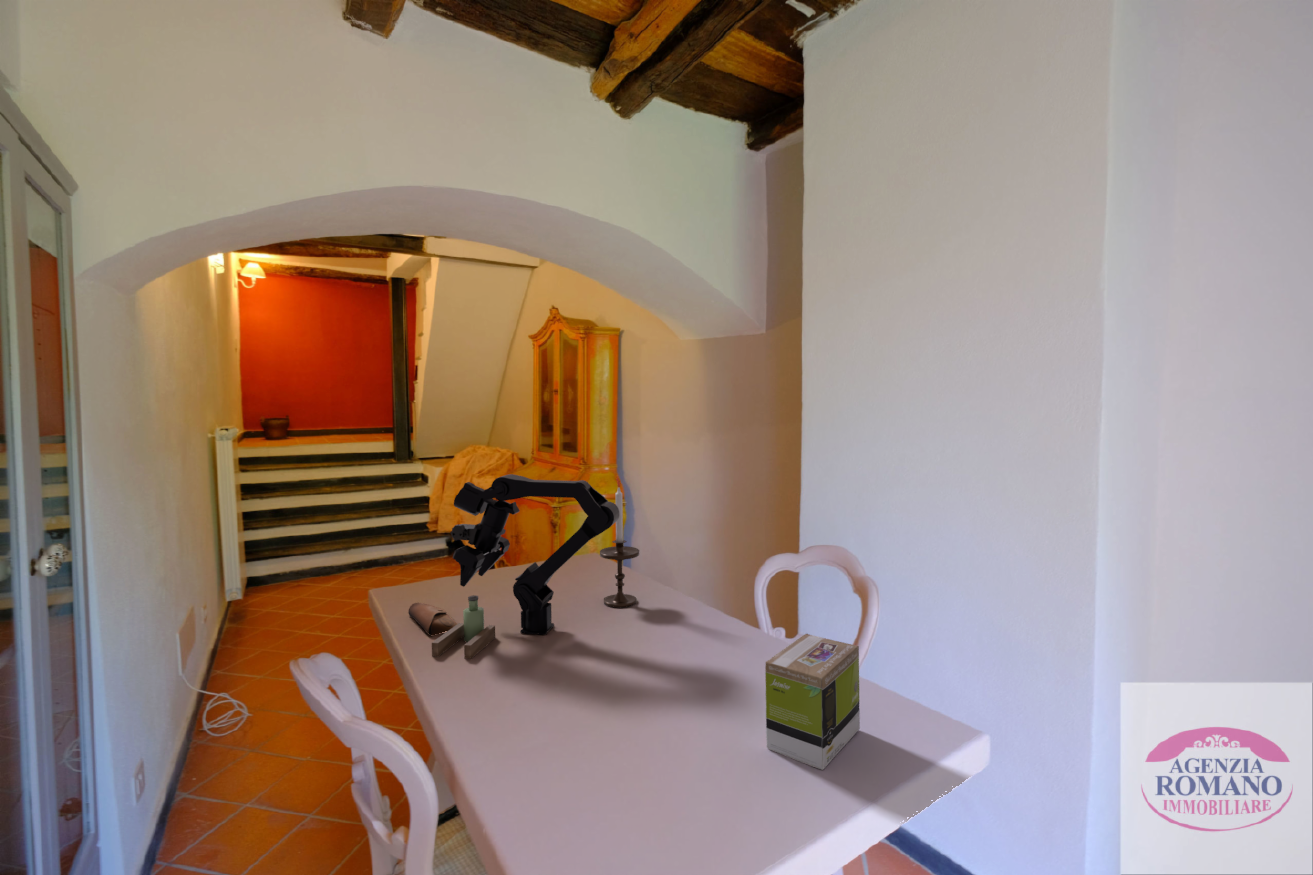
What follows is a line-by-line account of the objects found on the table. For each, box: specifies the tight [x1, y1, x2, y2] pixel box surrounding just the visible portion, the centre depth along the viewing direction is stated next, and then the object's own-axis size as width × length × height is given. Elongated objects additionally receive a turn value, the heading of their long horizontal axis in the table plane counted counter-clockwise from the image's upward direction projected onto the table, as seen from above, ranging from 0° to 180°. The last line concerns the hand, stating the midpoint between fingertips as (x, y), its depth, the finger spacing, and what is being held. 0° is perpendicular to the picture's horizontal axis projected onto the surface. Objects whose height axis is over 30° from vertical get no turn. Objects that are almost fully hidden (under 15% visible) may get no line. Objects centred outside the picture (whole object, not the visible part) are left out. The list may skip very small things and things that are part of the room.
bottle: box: [462, 594, 485, 643], centre depth 144 cm, size 5×5×10 cm
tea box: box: [764, 633, 861, 771], centre depth 100 cm, size 15×10×15 cm, turn 141°
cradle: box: [431, 622, 496, 660], centre depth 139 cm, size 9×12×3 cm
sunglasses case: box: [408, 602, 458, 637], centre depth 155 cm, size 18×7×7 cm
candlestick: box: [599, 476, 640, 609], centre depth 168 cm, size 11×11×35 cm
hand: (471, 580), depth 151 cm, fingers open, 9 cm apart
